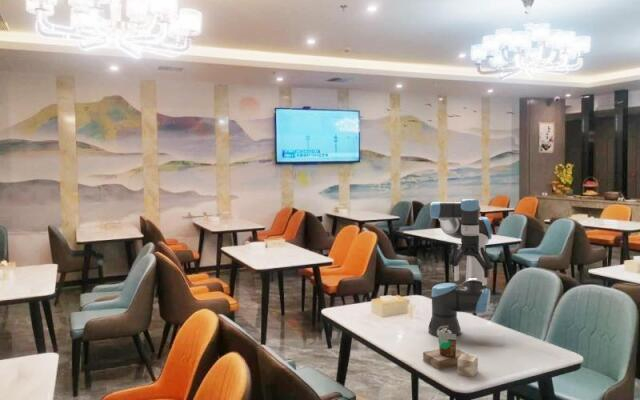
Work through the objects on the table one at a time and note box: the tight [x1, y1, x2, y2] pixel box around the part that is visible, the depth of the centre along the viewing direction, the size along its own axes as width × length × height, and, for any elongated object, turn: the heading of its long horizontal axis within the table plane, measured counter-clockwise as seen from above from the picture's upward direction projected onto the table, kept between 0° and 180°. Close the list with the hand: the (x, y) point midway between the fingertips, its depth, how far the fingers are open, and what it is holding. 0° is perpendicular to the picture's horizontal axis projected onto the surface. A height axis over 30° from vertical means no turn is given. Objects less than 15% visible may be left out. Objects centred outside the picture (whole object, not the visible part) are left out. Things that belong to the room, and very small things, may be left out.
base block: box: [422, 347, 470, 371], centre depth 215 cm, size 11×15×4 cm
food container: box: [437, 325, 457, 358], centre depth 214 cm, size 12×6×10 cm, turn 2°
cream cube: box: [457, 354, 479, 377], centre depth 203 cm, size 6×6×6 cm
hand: (470, 282), depth 229 cm, fingers open, 13 cm apart
